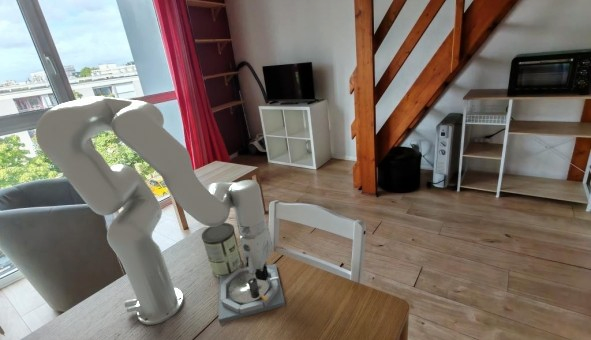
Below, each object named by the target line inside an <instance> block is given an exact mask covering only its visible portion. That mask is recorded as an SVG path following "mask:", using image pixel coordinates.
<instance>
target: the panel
mask: <svg viewBox="0 0 591 340" xmlns="http://www.w3.org/2000/svg"><path fill="white" fill-rule="evenodd" d="M266 266H267V271H268V278H269V282H270V289H269V291H268V293H267V294H266V295H265V296H264V295H261V296H260V297H261V298H262V299H261V300H259V301H255V302H252V303H248V304H244V305H240V304H237V303H235V302H233V301H232V300H231V298H230V295H229V287H230V284H231V283H232V281H233V280H234V279H235V278H236V277H238V276H239V275H241V274H244V273H246V272H249V266H248V267H247V268H246V267H245V266H244V267H243V268H242V267H241V268H240V269H238V271H237V270H236V271H235V272H233V273H232V274H230V275H226V276H222V277H219V293H218V294H219V295H218V323H220V324H221V323H224V322H228V321H232V320H235V319H238V318H239V319H240V318H242V317H247V316H251V315H255V314H258V313H263V312H265V311H270V310H273V309H277V308H281V307H285V306H286V301H285V298H284V294H283V289H282V286H281V281H280V277H279V273H278V269H277V264H276V263H273V264H267V265H266Z"/></svg>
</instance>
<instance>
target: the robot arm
mask: <svg viewBox="0 0 591 340" xmlns="http://www.w3.org/2000/svg"><path fill="white" fill-rule="evenodd" d="M164 123H165V121H164V115H163V113H162V111H161V110H160V108H158V107H157V106H156V105H154V104H153V103H150V102H147V101H142V100H133V99H125V98H118V97H117V98H116V97H107V96H97V95H96V96H95V95H93V96H88V97H87V96H86V97H82V98H80V99H75V100H71V101H67V102H62V103H60V104H57V105H55V106H53V107H51V108H50V109H48V110H47V111H45V112H43V114H42V116H40V118H39V119H38V121H37V124H36V128H35V137H36V142H37V144H38V146H39V148H40V149H41V151H42V153H43V154H44V155H45V156H46V157H47V158H48V160H49V161H51V162H52V163H53V165H55V167H57V169H58V170H60V172H61V173H62V175H64V176H65V179H66V180H67V181H68V182H69V184H70V185H71V186H72V187H73V189H74V190H75V191H76V193H77V194H78V195H79V196H80V198H81V199H82V200H83V201H84V203H85V204H86V205H87V206H88V208H90V209H91V210H92V211H93V212H94V213H96V214H97V215H99V216H111V215H113V214H115V213H117V212H118V211H119V210H120V209H122V210H121V211H120V212H119V213H118V214H117V215H116V217H115V218H114V219H113V220H112V222H111V223H110V225H109V227H108V229H107V233H106V240H107V243H108V245H109V246H110V248H111V249H112V251H114V253H115V254H116V255H117V257H118V260H119V261H120V263H121V265H122V267H123V270H124V271H125V274H126V277H127V278H128V281H129V283H130V286H131V288H132V290H133V293H134V294H135V296H136V297H135V298H133V299H127V300H125V301H124V307H125V308H126V312H127V313H131V312H135V311H136V316H137V318H138V321H139V322H140V323H142V324H143V325H151V326H152V325H156V324H157V325H158V324H160V323H163V322H165V321H167V320H168V319H170V318H172V317H173V316H175V314H176V313H177V312H178V311H180V309H181V308H182V306H183V304H184V300H185V299H184V294H183V291H181V289H179V288H177V287H175V286H174V283H173V281H172V277H171V275H170V272H169V270H168V266H167V263H166V260H165V257H164V255H163V253H162V249H161V248H160V246H159V245H158V243H156V241H154V239H153V233H154V231H155V228H156V227H157V225H158V224H159V222H160V221H161V218H162V214H163V212H162V211H163V210H162V206H161V204H160V201H158V199H157V197H156V196H155V194H154V193H153V191H152V190H151V188H150V186H149V185H148V184H147V182H146V181H145V179H144V178H143V176H142V175H141V174H140V172H138V171H137V170H136V169H135V168H133V167H132V166H129V165H127V164H122V163H117V164H113V165H109V164H108V162H107V161H106V159H105V158H104V156H103V155H102V154H101V153H100V152H99V151H98V150H96V149H95V148H93V147H92V146H91V145H89V144H88V143H87V142H88V140H89V139H90V138H92V137H94V136H97V135H100V134H101V133H103V132H106V131H109V132H110V131H111V132H113V134H114V135H115V136H116V138H118V140H120V141H121V142H122V143H123V144H124V145H125V146H126V147H128V148H129V149H130V151H132V152H133V153H134V154H135V155H137V156H138V157H139V158H140V159H142V160H143V161H144V162H145V163H146V164H148V166H149V167H151V168H152V169H153V170H154V171H156V172H157V173H158V174H159V175H160V176H161V178H162V180H163V182H164V185H165V186H166V188H167V190H168V191H169V194H170V195H171V196H172V198H173V199H174V201H175V202H176V203H177V204H178V206H180V208H181V209H182V210H184V212H186V213H187V215H189V216H191V217H192V218H193V219H194V220H196V221H197V222H199V223H200V224H202V225H203V226H207V227H208V228H209V227H217V226H220V225H222V224H223V223H226V222H227V220H228V219H229V216H230V214H231V213H230V212H231V209H233V211H234V214H235V219H236V224H237V225H236V226H237V229H238V233H239V235H240V248H241V255H242V262H243V265H244V268H245V267H246V268H247V267H249V274H254V273H255V274H256V278H257V279H258V280H265V281H266V280H267V278H268V271H267V266H268V259H269V257H270V255H271V254H272V252H273V249H274V246H273V240H272V236H271V232H270V228H269V226H268V224H267V220H266V215H265V214H266V213H265V209H264V204H263V197H262V192H261V188H260V184H259V183H258V182H257V181H256V180H254V179H244V180H240V181H236V182H235V181H216V182H212V183H210V184H208V185H207V186H206V187H205V186H204V184H203V183H202V182H201V181H200V179H199V178H198V176H197V175H196V173H195V170H194V167H193V164H192V160H191V156H190V152H189V151H188V149H187V148H186V147H185V146H184V145H183V144H181V143H180V141H179V140H177V139H176V138H175V137H174V136H173V135H172V134H171V133H170V132H169V131H168V130H167V129H166V128H165V127H164Z"/></svg>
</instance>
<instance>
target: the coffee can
mask: <svg viewBox="0 0 591 340" xmlns="http://www.w3.org/2000/svg"><path fill="white" fill-rule="evenodd" d="M201 240H202V243H203V245H204V249H205V251H206V257H207V259H208V263H209V266H210V269H211V273H212V275H213V276H215V277H217V278H220V277H222V276H226V275H230V274H232V273H233V272H235V271H236V270H237V271H238V269H241V268H242V266H243V260H242V258H241V254H240V250H239V245H238V241H237V236H236V233H235V227H234V225H233V224H231V223H228V222H224V223H223V224H222V225H220V226H217V227H209V226H208V227H207V228H206V229H204V230H203V232H202V233H201Z"/></svg>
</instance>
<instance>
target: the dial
mask: <svg viewBox="0 0 591 340" xmlns="http://www.w3.org/2000/svg"><path fill="white" fill-rule="evenodd" d="M269 289H270V282H269V278H267V280H266V281H265V280H258V279H257V278H256V274H255V273H254V274H249V272H246V273H244V274H241V275H239V276H238V277H236V278H235V279H234V280H233V281H232V283H231V284H230V287H229V295H230V298H231V300H232V301H233V302H235V303H237V304H240V305H244V304H248V303H252V302H255V301H259V300H261V299H262V298H261V297H260V296H261V295H264V296H265V295H266V294H267V293H268V291H269Z"/></svg>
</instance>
